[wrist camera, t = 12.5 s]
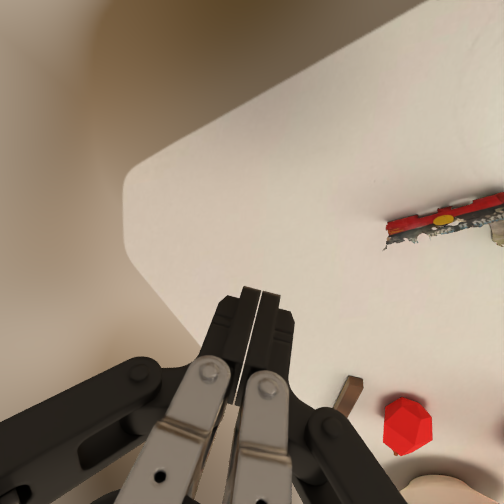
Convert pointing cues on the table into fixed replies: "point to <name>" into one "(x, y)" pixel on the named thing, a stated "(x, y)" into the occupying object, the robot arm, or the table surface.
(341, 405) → the walnut slat
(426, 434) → the apple
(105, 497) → the robot arm
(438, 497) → the bowl
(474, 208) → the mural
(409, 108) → the table surface
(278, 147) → the table surface
